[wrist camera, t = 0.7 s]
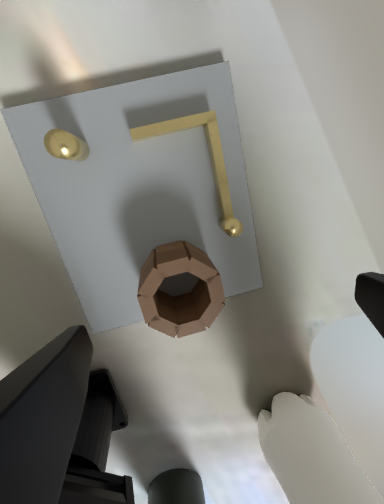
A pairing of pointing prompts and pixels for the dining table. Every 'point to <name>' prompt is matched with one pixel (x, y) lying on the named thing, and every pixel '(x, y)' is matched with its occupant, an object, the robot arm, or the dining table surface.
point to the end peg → (65, 145)
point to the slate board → (138, 187)
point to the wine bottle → (176, 488)
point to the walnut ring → (186, 305)
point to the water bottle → (311, 454)
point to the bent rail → (216, 157)
